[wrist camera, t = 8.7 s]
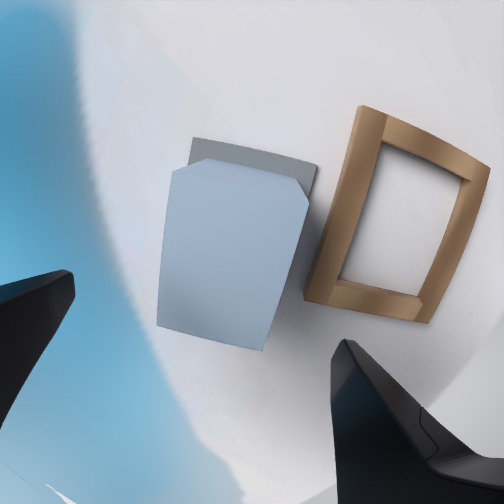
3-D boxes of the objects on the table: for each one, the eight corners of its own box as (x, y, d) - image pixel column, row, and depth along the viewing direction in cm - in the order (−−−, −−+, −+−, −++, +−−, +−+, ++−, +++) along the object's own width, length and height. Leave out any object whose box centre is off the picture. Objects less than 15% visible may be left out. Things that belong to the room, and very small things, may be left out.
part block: (295, 178, 16) (309, 202, 10) (265, 287, 18) (262, 351, 13) (207, 158, 15) (172, 171, 10) (188, 268, 18) (156, 325, 13)
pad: (316, 164, 15) (316, 165, 15) (276, 300, 19) (276, 302, 19) (194, 137, 15) (193, 137, 15) (173, 276, 19) (172, 278, 18)
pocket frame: (482, 165, 14) (490, 168, 13) (423, 316, 19) (428, 323, 18) (357, 106, 14) (363, 105, 13) (302, 292, 19) (304, 300, 18)
